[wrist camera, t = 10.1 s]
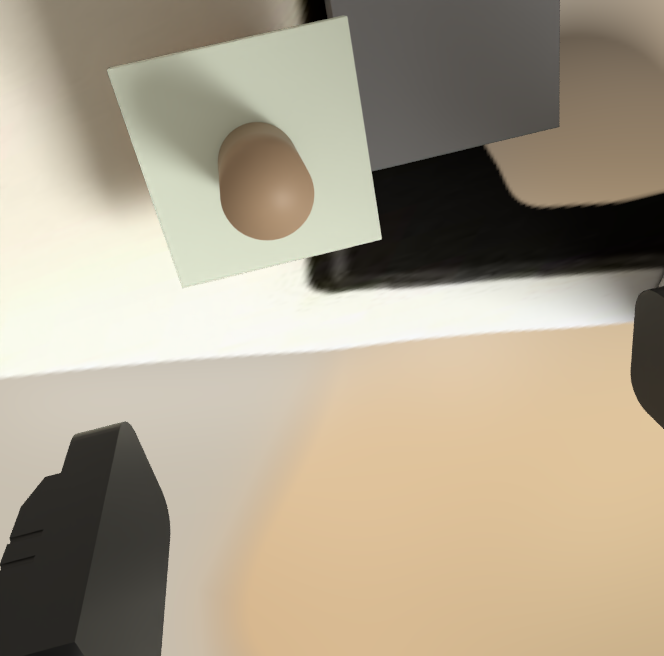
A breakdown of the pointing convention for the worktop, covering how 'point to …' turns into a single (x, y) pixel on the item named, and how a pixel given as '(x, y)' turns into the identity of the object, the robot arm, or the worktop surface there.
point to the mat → (451, 73)
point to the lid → (253, 149)
